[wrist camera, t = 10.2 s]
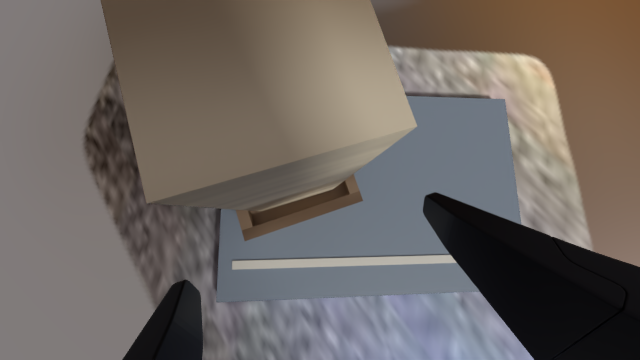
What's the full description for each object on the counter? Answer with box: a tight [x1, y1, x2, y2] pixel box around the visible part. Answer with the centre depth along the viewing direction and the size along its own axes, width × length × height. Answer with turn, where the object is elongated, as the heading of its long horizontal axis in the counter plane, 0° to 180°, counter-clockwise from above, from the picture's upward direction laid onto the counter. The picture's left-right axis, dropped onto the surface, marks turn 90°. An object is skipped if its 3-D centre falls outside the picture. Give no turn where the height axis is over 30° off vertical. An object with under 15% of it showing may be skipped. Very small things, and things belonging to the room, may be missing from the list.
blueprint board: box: [216, 96, 521, 302], centre depth 19 cm, size 16×24×1 cm, turn 91°
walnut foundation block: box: [236, 174, 363, 241], centre depth 17 cm, size 8×8×3 cm
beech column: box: [101, 0, 417, 212], centre depth 10 cm, size 5×5×12 cm
